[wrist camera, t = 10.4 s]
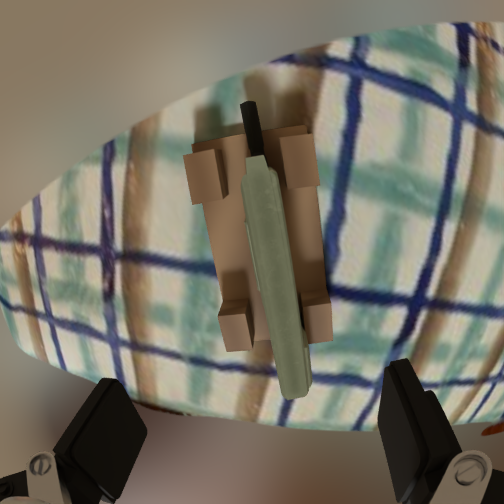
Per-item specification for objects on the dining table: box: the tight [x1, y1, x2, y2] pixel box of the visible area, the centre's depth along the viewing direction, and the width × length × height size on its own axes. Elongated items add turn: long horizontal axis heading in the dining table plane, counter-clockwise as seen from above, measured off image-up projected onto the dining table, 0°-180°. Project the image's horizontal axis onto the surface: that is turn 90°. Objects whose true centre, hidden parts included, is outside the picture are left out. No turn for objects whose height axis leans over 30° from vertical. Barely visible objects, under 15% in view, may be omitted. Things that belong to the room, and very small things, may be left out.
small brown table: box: [183, 125, 333, 352], centre depth 26 cm, size 10×20×4 cm, turn 10°
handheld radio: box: [240, 101, 312, 400], centre depth 24 cm, size 7×3×25 cm
